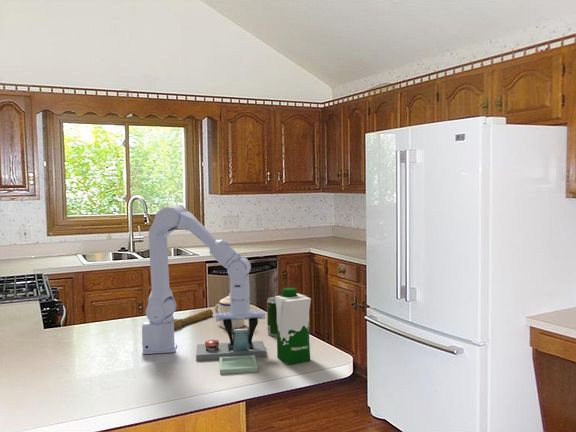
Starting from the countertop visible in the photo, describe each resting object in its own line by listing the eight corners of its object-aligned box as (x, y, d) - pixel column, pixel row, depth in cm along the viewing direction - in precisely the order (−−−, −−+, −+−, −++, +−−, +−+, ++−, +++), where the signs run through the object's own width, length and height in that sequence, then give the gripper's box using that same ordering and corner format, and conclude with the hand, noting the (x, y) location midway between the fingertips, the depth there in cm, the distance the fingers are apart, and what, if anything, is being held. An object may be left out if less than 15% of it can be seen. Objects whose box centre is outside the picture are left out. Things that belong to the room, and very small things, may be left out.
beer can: (273, 337, 170) (272, 301, 169) (264, 333, 174) (264, 298, 174) (286, 334, 173) (286, 298, 172) (278, 330, 177) (277, 296, 176)
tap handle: (213, 309, 198) (156, 328, 172) (213, 317, 198) (157, 337, 172) (207, 308, 200) (150, 326, 174) (207, 316, 200) (150, 335, 174)
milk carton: (299, 352, 154) (298, 285, 153) (315, 361, 146) (314, 291, 145) (273, 357, 150) (272, 288, 149) (287, 366, 142) (286, 294, 141)
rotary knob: (233, 355, 152) (232, 332, 152) (232, 350, 157) (232, 327, 156) (249, 354, 153) (249, 331, 152) (248, 349, 158) (248, 326, 157)
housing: (196, 360, 148) (196, 355, 148) (197, 349, 158) (197, 344, 158) (266, 356, 151) (266, 350, 151) (262, 345, 161) (262, 340, 161)
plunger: (205, 355, 151) (205, 344, 151) (205, 351, 155) (205, 340, 155) (219, 354, 152) (218, 343, 152) (218, 350, 156) (218, 339, 156)
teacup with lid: (250, 324, 186) (249, 292, 185) (235, 330, 178) (234, 297, 177) (223, 320, 192) (222, 289, 191) (207, 326, 184) (206, 293, 183)
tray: (220, 374, 137) (219, 369, 137) (219, 361, 147) (219, 357, 147) (257, 371, 139) (257, 367, 138) (254, 359, 148) (254, 355, 148)
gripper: (215, 302, 149) (216, 349, 150) (265, 300, 151) (266, 346, 152) (215, 297, 156) (216, 341, 157) (263, 295, 158) (264, 339, 159)
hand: (240, 343), depth 155 cm, fingers open, 5 cm apart
